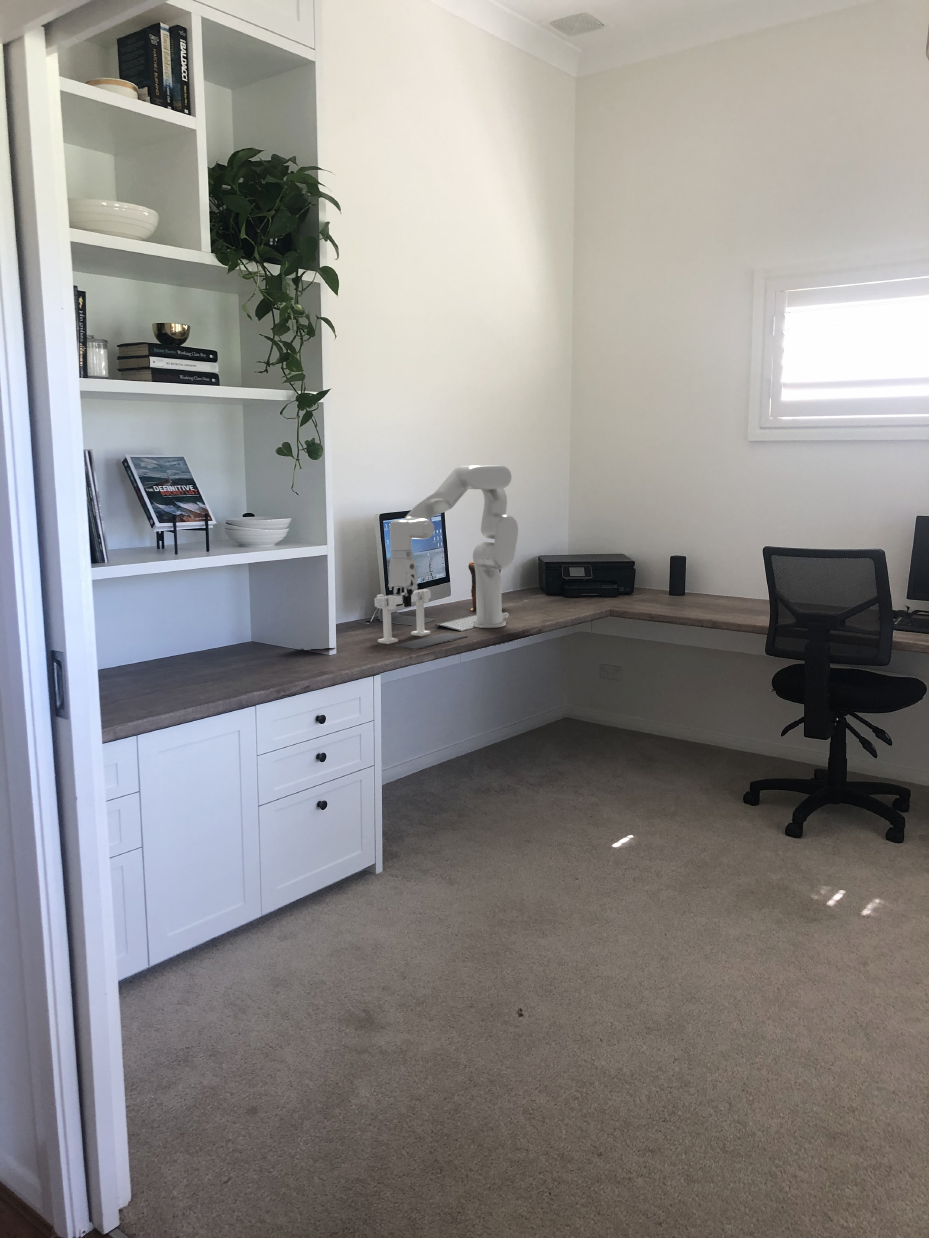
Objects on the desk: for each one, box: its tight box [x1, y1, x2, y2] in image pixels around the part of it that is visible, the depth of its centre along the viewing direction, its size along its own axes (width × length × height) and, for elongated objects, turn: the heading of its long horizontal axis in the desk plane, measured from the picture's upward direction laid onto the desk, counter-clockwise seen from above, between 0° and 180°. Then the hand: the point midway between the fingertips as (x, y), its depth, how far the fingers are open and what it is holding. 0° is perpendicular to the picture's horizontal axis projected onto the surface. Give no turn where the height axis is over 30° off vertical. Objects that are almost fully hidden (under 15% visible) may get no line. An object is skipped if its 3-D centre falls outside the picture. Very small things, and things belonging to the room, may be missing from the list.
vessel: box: [467, 561, 502, 613], centre depth 398 cm, size 14×14×20 cm
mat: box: [393, 632, 468, 650], centre depth 332 cm, size 27×10×1 cm, turn 140°
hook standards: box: [376, 588, 432, 645], centre depth 339 cm, size 22×7×16 cm, turn 140°
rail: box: [374, 588, 431, 608], centre depth 338 cm, size 25×4×3 cm, turn 140°
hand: (403, 605), depth 339 cm, fingers closed on rail, 3 cm apart
